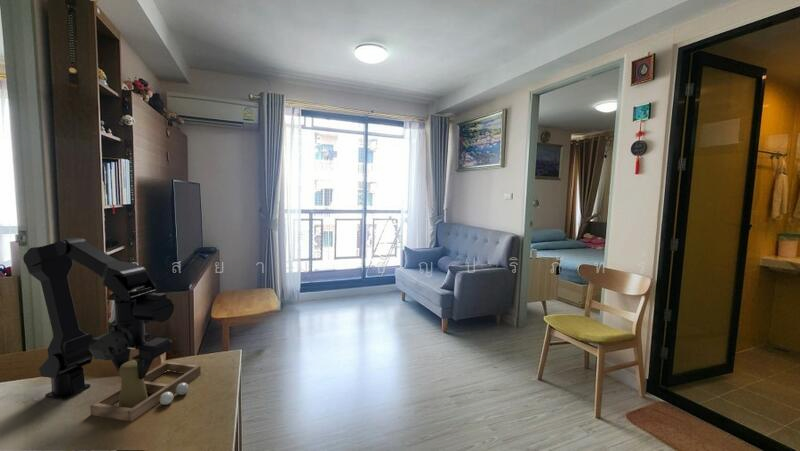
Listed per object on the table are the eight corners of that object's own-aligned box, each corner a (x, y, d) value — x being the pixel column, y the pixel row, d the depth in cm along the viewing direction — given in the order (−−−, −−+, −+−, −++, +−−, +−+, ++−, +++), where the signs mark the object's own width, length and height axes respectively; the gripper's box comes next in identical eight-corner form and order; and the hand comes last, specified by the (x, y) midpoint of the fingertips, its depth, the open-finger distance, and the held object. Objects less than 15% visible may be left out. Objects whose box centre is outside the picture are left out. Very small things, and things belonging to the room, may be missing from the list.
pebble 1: (156, 406, 86) (156, 395, 86) (166, 399, 89) (166, 388, 89) (167, 408, 86) (166, 396, 86) (176, 401, 89) (176, 390, 89)
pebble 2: (172, 396, 91) (172, 385, 90) (181, 390, 94) (181, 379, 93) (182, 397, 90) (182, 387, 90) (191, 391, 93) (191, 381, 93)
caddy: (90, 414, 82) (90, 404, 82) (166, 369, 104) (166, 361, 104) (131, 421, 81) (131, 411, 80) (200, 373, 102) (200, 365, 102)
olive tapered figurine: (132, 412, 84) (130, 369, 83) (111, 409, 85) (109, 366, 84) (154, 398, 90) (152, 358, 88) (135, 395, 91) (133, 355, 90)
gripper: (62, 326, 79) (66, 390, 80) (132, 334, 76) (134, 400, 77) (110, 310, 90) (113, 367, 91) (173, 316, 87) (174, 375, 88)
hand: (132, 377), depth 87 cm, fingers closed on olive tapered figurine, 5 cm apart
